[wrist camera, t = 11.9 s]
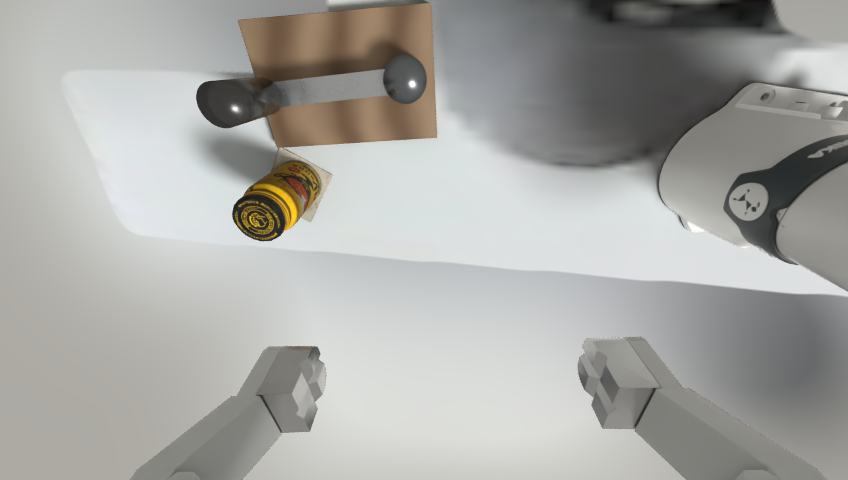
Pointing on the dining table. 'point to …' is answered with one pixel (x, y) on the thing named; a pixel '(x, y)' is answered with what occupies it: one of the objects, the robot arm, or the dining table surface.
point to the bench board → (345, 71)
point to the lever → (307, 91)
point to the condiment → (281, 197)
